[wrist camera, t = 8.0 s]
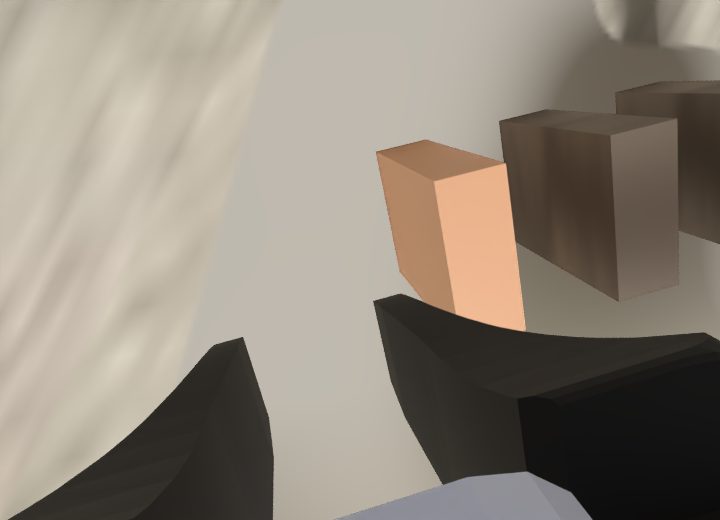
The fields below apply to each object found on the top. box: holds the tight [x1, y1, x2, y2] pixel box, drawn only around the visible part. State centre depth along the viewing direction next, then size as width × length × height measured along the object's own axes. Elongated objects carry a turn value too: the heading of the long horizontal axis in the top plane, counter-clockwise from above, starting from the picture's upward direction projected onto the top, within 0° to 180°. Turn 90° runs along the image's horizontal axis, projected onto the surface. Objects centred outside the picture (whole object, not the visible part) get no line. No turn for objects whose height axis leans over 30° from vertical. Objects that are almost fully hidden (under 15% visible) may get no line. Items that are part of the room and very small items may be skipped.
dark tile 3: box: [616, 81, 720, 244], centre depth 19 cm, size 5×2×7 cm, turn 12°
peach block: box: [376, 140, 526, 331], centre depth 18 cm, size 5×2×7 cm, turn 12°
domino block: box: [499, 110, 679, 302], centre depth 19 cm, size 5×2×7 cm, turn 12°
